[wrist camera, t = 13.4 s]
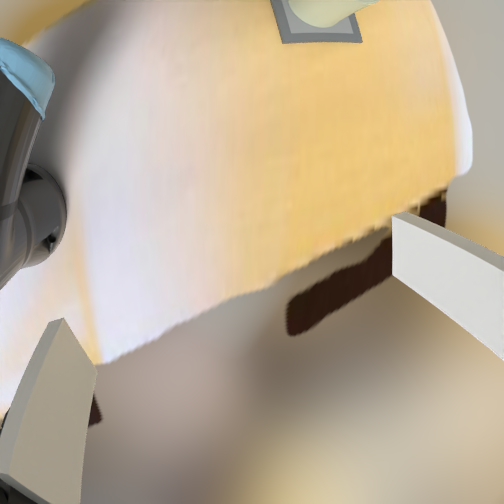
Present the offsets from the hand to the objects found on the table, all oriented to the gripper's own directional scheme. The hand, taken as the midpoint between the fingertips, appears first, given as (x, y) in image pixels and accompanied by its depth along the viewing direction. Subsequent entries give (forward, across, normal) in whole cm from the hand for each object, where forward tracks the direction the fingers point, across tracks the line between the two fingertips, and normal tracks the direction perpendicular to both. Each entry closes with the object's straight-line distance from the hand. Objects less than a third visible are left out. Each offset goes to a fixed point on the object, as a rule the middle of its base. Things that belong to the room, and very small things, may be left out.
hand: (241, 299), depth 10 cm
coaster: (+32, +24, +24) cm, 46 cm away
